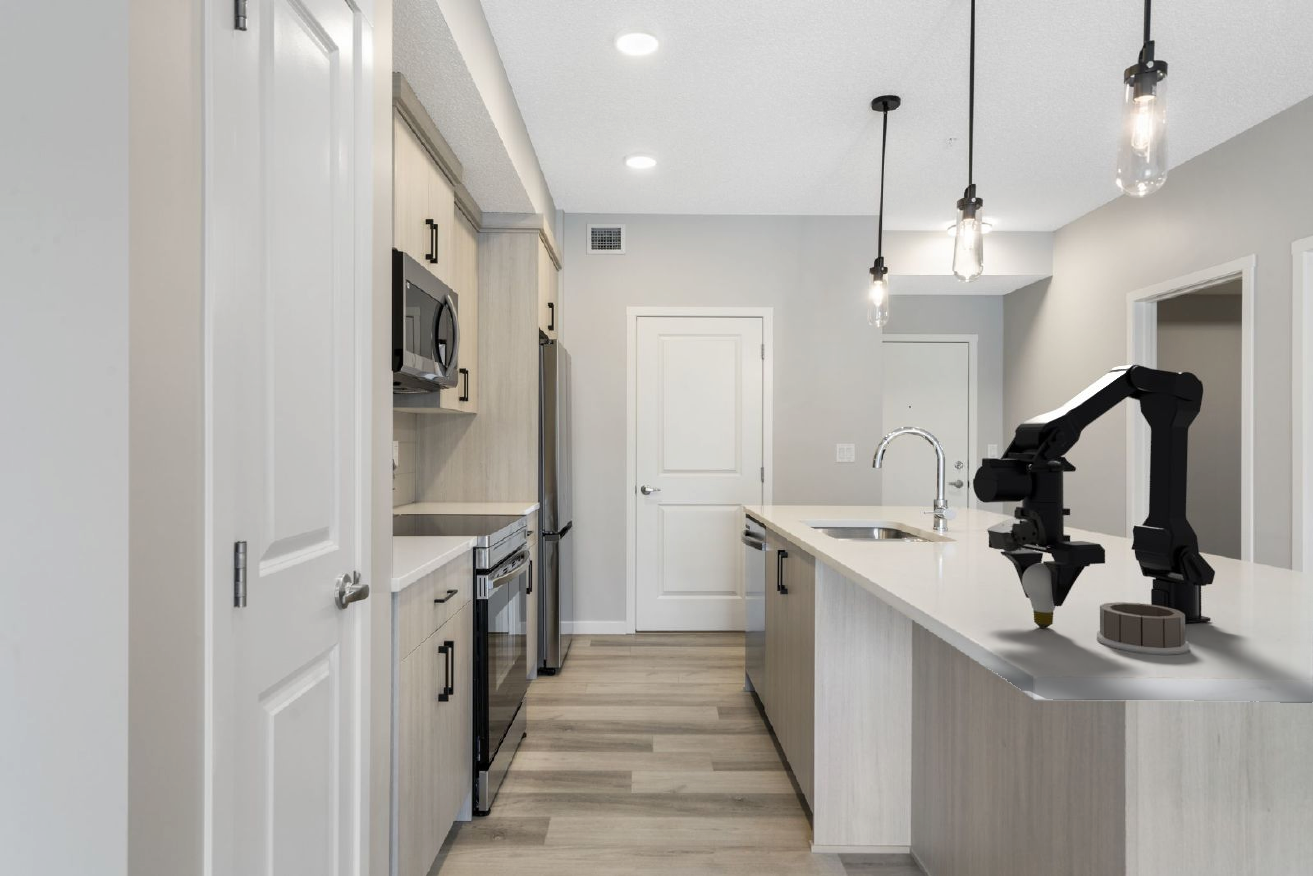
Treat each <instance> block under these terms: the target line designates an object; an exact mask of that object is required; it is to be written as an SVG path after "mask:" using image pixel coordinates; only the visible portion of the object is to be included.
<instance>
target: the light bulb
mask: <svg viewBox="0 0 1313 876" xmlns="http://www.w3.org/2000/svg"><path fill="white" fill-rule="evenodd" d="M1022 585H1023V587H1022V589H1023V588H1024V590H1025V592H1026V593H1027V595H1028V597H1029V598H1028V599H1029V601H1030V603H1031V607H1032V610H1033V622H1034V623H1035V624H1036V625H1037V626H1038V627H1039V628H1041V629H1047V628H1048V627H1049V626H1051V625H1053V624H1054V612H1055V609H1056V607H1057V606H1054V603H1053V597H1052V583H1051V572H1050V570H1049V569H1048V568H1047V567H1046V565H1045V564H1044V563H1043V562H1041V563H1037V564H1034V565H1032V566H1030V567H1029V568H1027V569H1026V571H1025V572H1024V574H1023V577H1022ZM1022 585H1021V586H1022ZM1024 590H1023V591H1024Z"/></svg>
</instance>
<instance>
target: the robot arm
mask: <svg viewBox="0 0 1313 876" xmlns="http://www.w3.org/2000/svg"><path fill="white" fill-rule="evenodd" d="M1203 395H1204V385H1203V381H1202V380H1201V379H1199V378H1198V376H1196V375H1195V374H1194V373H1193V372H1189V371H1182V372H1175V371H1168V370H1164V369H1163V370H1161V369H1157V368H1156V369H1155V368H1150V367H1146V366H1143V365H1140V364H1130V365H1128V364H1127V365H1120V366H1115V367H1113V368H1111V369H1110V370H1109V371H1108V372H1107V373H1106V375H1104V376H1103V377H1100V379H1099V380H1097V381H1096V382H1094V383H1093V384H1091V385H1090V386H1089V387H1087V388H1086V389H1084V390H1083V391H1082V392H1080V393H1079V394H1077V395H1076V396H1075V397H1073V398H1072V399H1070V400H1068V401H1067V402H1066V403H1064V404H1063V405H1062V406H1061V407H1058V408H1057V409H1054V410H1051V411H1049V412H1045V413H1042V414H1039V415H1036V416H1035V417H1032V418H1029V419H1028V420H1026V421H1024V422H1021V423H1020V424H1019V425H1018V426H1017V427H1016V428H1015V430H1014V433H1015V435H1014V437H1013V439H1012V440H1011V442H1010V444H1009V445H1008V447H1007V448H1006V450H1005V451H1004V453H1003V455H1002V456H1001V457H1000V458H998V457H997V458H996V457H982V459H981V466H979V468H978V469H977V470H976V472H975V476H974V478H973V479H972V487H973V492H974V494H975V496H976V498H977V499H978V500H979V501H980V502H982V503H983V504H984V503H989V504H990V503H1019V502H1021V501H1022V502H1021V503H1022V504H1021V505H1022V506H1016V507H1015V509H1014V516H1013V517H1011V518H1008V519H1005V520H1004V521H1001V522H998V523H996V524H993V525H992V526H989V527H988V528H987V529H986V531H987V534H988V548H989V549H994V550H1003V551H1000V554H1001V555H1002V556H1004V557H1006V558H1007V559H1008V560H1009V561H1010V562H1012V563H1011V564H1013V567H1014V569H1015V571H1016V573H1017V576H1018V579H1019V581H1020V584H1021V586H1022V590H1023V593H1024V595H1025V598H1027V599H1029V597H1028V595H1027V593H1026V592H1025V590H1024V588H1023V585H1022V577H1023V574H1024V572H1025V571H1026V569H1027V568H1029V567H1030V566H1032V565H1034V564H1037V563H1044V564H1045V565H1046V567H1047V568H1048V569H1049V570H1050V572H1051V583H1052V597H1053V603H1054V606H1056V607H1061V606H1063V604H1064V602H1065V601H1066V598H1067V597H1068V595H1069V593H1070V591H1071V589H1072V588H1073V586H1074V584H1075V582H1076V581H1077V579H1078V578H1079V576H1080V575H1081V574H1082V572H1083V570H1084V569H1085V567H1086V568H1087V567H1091V566H1090V565H1099V564H1100V565H1101V564H1106V550H1105V548H1104V547H1103V546H1102V545H1101V544H1100V543H1095V542H1091V541H1085V540H1073V541H1072V540H1071V535H1069V534H1065V529H1064V526H1065V524H1064V522H1065V520H1064V518H1065V517H1064V516H1071V508H1068V507H1064V502H1065V501H1064V472H1065V473H1066V472H1067V473H1073V472H1076V471H1077V467H1076V466H1074V464H1072V463H1071V462H1070V461H1068V460H1067V458H1066V456H1065V455H1066V454H1067V453H1068V452H1069V451H1070V450H1071V449H1072V448H1073V447H1074V446H1075V445H1076V444H1077V443H1078V441H1079V440H1080V438H1081V434H1082V431H1083V430H1085V429H1086V428H1087V427H1088V426H1089V425H1090V424H1093V422H1095V421H1096V420H1098V419H1099V418H1100V417H1101V416H1103V415H1104V414H1106V413H1107V412H1108V411H1110V410H1111V409H1113V408H1114V407H1116V406H1117V405H1118V404H1119V403H1121V402H1122V401H1124V400H1125V399H1126V398H1130V399H1132V400H1136V401H1139V406H1140V408H1139V409H1140V413H1141V414H1142V416H1143V418H1144V419H1145V420H1146V422H1147V424H1148V426H1149V427H1150V450H1149V451H1150V459H1149V460H1150V461H1149V493H1148V494H1149V495H1148V496H1149V498H1148V500H1149V501H1148V514H1147V515H1148V516H1147V517H1146V519H1145V520H1144V522H1143V523H1142V524H1141V525H1138V524H1135V525H1134V526H1133V528H1132V536H1133V540H1132V541H1133V542H1132V546H1131V550H1132V551H1134V557H1135V560H1136V561H1137V562H1138V564H1139V565H1138V566H1139V567H1140V571H1141V573H1142V576H1143V577H1147V578H1148V577H1149V578H1152V588H1151V590H1150V598H1151V599H1150V605H1157V606H1163V607H1167V608H1171V609H1175V610H1179V611H1180V612H1182V613H1184V614H1185V624H1186V623H1187V624H1189V623H1199V622H1200V623H1202V622H1211V621H1212V620H1211V619H1212V618H1211V617H1209V616H1204V615H1202V587H1204V586H1205V587H1207V585H1213V582H1214V579H1215V576H1216V570H1214V568H1213V567H1212V566H1211V565H1210V564H1209V562H1208V561H1206V559H1205V558H1204V557H1203V556H1202V554H1200V550H1199V542H1198V535H1197V534H1196V532H1195V530H1194V529H1193V527H1192V525H1191V524H1190V523H1189V520H1188V519H1187V489H1188V488H1187V485H1188V484H1187V482H1188V450H1189V449H1188V448H1189V447H1188V446H1189V441H1188V439H1189V436H1188V435H1189V428H1190V427H1191V425H1192V424H1193V423H1194V421H1195V419H1196V418H1197V417H1198V415H1199V413H1200V411H1201V408H1202V402H1203V397H1204V396H1203ZM1044 553H1045V554H1051V557H1052V559H1053V560H1049V561H1048V560H1047V561H1043V557H1044Z"/></svg>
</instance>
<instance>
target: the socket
mask: <svg viewBox="0 0 1313 876" xmlns="http://www.w3.org/2000/svg"><path fill="white" fill-rule="evenodd" d="M1096 640H1097V641H1098V642H1099V643H1100V644H1102V645H1105V646H1107V647H1111V648H1114V649H1117V650H1121V651H1125V652H1126V651H1127V652H1132V653H1137V654H1138V653H1139V654H1149V655H1160V656H1164V655H1165V656H1169V655H1170V656H1173V655H1175V656H1176V655H1182V654H1185V653H1188V652H1189V651H1190V644H1189V642H1188V641H1187V640H1186V623H1185V614H1184V613H1182V612H1180V611H1179V610H1175V609H1171V608H1167V607H1163V606H1157V605H1151V603H1150V604H1149V603H1140V602H1123V601H1120V602H1119V601H1117V602H1106V603H1103V604H1100V605H1099V630H1098V631H1097V632H1096Z"/></svg>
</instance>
